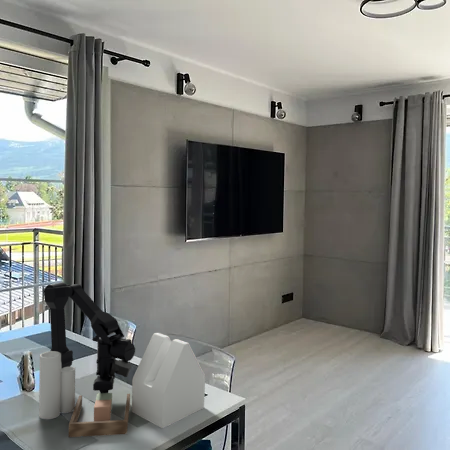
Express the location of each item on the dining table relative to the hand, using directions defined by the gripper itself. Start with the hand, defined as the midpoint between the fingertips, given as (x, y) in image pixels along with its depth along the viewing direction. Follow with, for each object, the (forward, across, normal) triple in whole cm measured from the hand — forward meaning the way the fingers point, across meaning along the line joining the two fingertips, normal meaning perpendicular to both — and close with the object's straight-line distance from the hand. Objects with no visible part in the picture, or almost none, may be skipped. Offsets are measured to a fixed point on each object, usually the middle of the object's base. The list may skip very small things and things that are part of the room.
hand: (105, 399), depth 153 cm
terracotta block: (+2, -9, 0) cm, 9 cm away
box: (+2, -10, 0) cm, 10 cm away
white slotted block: (+2, -5, -22) cm, 22 cm away
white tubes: (+2, -3, +16) cm, 16 cm away
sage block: (+2, -4, 0) cm, 5 cm away
